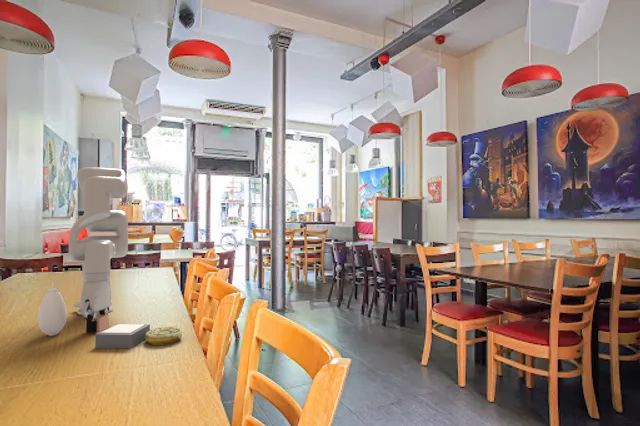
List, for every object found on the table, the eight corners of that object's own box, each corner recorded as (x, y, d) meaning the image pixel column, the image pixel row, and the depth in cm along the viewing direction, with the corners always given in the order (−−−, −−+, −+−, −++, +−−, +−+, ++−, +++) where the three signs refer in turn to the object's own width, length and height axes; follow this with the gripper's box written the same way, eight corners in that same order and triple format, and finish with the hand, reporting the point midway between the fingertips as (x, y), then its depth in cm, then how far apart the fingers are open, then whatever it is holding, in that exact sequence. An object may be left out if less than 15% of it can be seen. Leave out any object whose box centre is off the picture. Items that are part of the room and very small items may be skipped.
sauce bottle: (63, 330, 130) (64, 278, 130) (68, 334, 124) (69, 280, 125) (35, 334, 124) (36, 280, 125) (39, 340, 119) (40, 283, 119)
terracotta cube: (85, 333, 126) (85, 318, 126) (94, 328, 131) (94, 314, 131) (99, 333, 126) (99, 318, 126) (108, 329, 131) (108, 314, 131)
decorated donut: (188, 340, 119) (188, 328, 119) (154, 349, 111) (154, 336, 111) (172, 334, 126) (173, 322, 126) (139, 341, 118) (140, 329, 118)
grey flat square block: (95, 347, 112) (95, 333, 112) (117, 336, 123) (117, 323, 123) (131, 348, 111) (131, 333, 111) (149, 336, 122) (149, 323, 122)
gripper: (102, 273, 138) (102, 323, 137) (69, 281, 121) (68, 337, 120) (122, 273, 137) (121, 323, 137) (91, 281, 120) (91, 338, 120)
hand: (96, 329), depth 129 cm, fingers closed on terracotta cube, 5 cm apart
